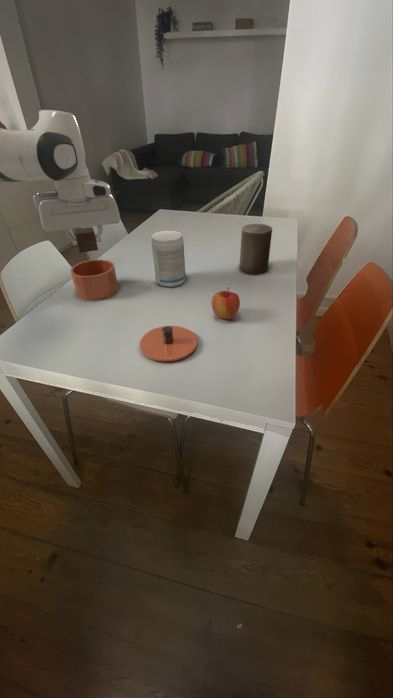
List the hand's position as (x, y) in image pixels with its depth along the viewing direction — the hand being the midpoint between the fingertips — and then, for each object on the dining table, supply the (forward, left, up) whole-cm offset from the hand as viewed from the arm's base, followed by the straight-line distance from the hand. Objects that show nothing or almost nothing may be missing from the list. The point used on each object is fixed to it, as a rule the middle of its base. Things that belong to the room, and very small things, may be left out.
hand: (87, 242), depth 89 cm
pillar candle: (+52, -3, -15) cm, 54 cm away
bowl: (0, 0, -15) cm, 15 cm away
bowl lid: (+13, -35, -14) cm, 40 cm away
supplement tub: (+23, -2, -15) cm, 27 cm away
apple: (+31, -28, -15) cm, 44 cm away
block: (0, 0, -2) cm, 2 cm away
